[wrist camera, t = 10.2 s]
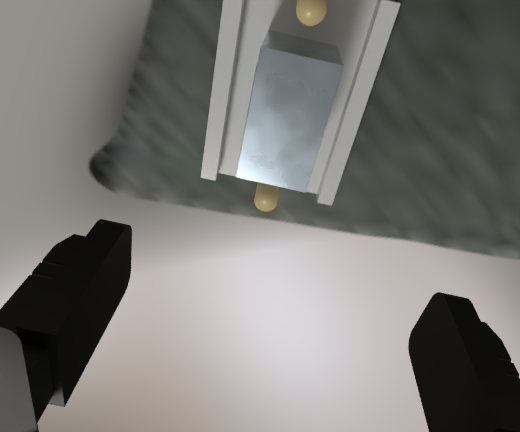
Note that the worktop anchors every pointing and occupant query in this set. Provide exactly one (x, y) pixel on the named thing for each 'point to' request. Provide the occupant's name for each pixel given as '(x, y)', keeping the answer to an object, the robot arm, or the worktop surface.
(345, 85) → the white peg stand
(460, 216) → the worktop surface
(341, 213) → the worktop surface
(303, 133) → the block
